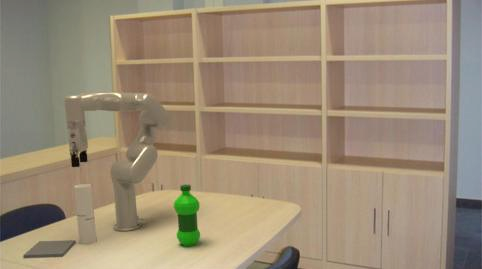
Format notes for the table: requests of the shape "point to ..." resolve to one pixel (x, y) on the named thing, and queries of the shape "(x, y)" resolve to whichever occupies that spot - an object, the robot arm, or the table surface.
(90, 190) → the cylindrical container
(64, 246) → the charcoal mat
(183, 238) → the plastic bottle
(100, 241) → the table surface
